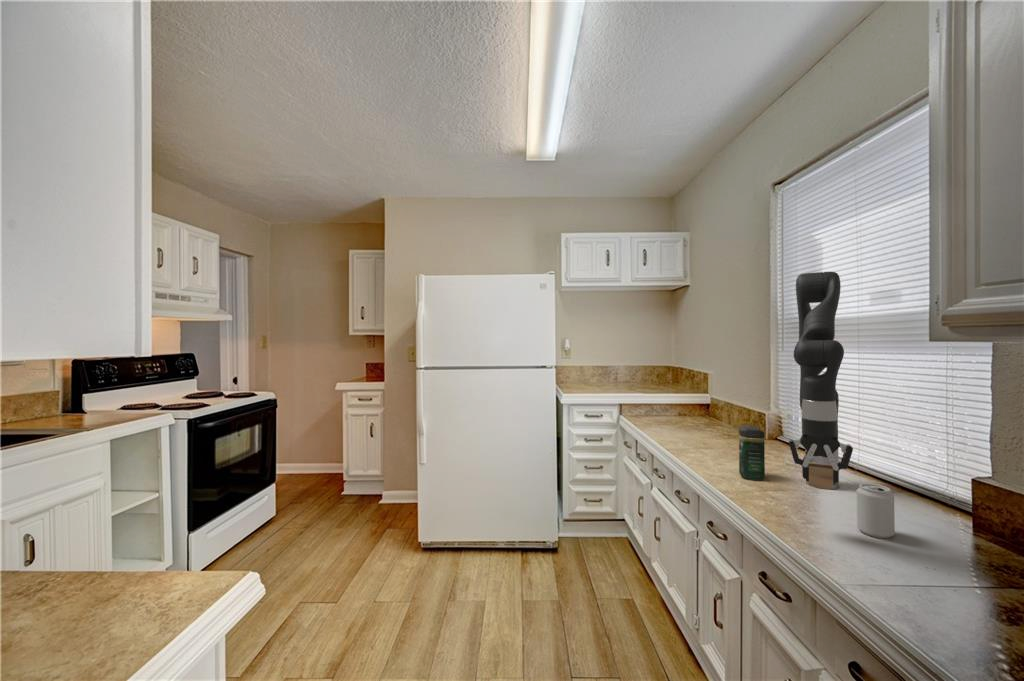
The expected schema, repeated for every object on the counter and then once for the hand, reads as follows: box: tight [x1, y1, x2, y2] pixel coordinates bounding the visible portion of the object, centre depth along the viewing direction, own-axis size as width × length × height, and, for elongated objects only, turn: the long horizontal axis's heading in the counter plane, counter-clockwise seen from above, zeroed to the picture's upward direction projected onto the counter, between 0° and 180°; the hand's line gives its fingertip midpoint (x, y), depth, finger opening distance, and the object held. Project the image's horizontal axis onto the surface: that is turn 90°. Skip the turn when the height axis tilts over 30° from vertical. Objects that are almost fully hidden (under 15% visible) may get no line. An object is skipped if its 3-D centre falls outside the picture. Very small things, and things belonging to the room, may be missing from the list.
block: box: [808, 462, 834, 490], centre depth 113 cm, size 5×5×5 cm
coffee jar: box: [738, 424, 766, 481], centre depth 159 cm, size 10×8×19 cm
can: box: [856, 483, 896, 539], centre depth 112 cm, size 8×8×12 cm
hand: (820, 481), depth 113 cm, fingers closed on block, 5 cm apart
